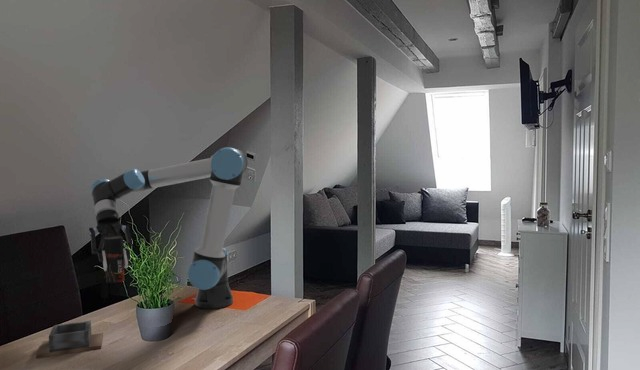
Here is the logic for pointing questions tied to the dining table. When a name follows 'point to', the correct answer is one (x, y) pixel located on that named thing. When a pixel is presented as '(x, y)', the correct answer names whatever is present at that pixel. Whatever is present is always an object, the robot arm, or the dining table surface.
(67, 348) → the holder
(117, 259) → the deodorant
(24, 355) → the dining table surface
